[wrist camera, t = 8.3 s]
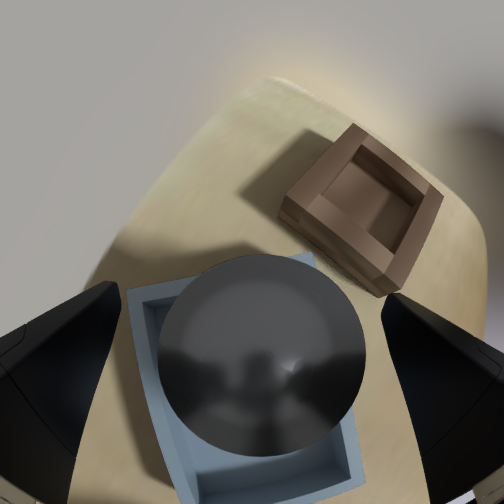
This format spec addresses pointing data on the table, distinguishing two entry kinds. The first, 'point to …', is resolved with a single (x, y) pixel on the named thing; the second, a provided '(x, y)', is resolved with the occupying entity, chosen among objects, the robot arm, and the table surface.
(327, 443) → the tray
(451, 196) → the table surface
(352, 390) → the metallic grey cylinder
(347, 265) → the socket block
